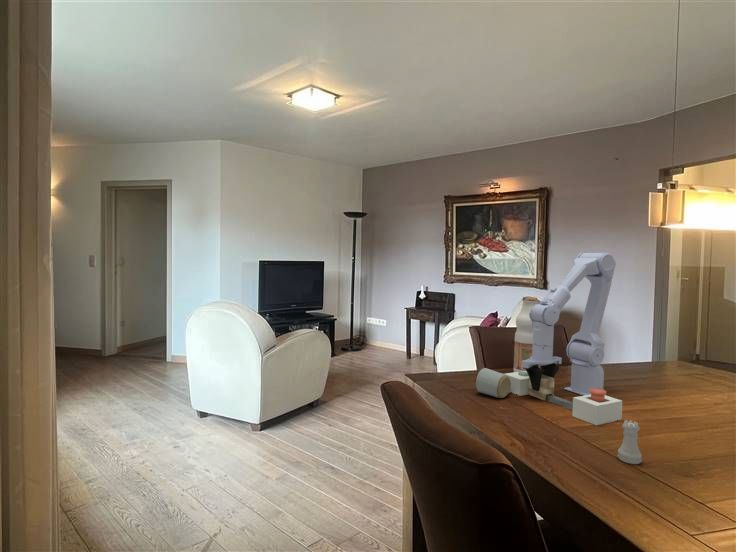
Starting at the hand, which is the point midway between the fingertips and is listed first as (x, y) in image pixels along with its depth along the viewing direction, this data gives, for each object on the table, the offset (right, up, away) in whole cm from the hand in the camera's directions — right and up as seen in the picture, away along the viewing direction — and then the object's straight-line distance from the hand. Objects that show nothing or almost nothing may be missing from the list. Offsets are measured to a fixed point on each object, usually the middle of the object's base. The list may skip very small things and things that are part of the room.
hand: (541, 389), depth 132 cm
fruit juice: (+5, -2, +26) cm, 26 cm away
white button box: (-3, -2, +6) cm, 7 cm away
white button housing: (+8, -3, -16) cm, 19 cm away
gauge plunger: (+8, 0, -17) cm, 19 cm away
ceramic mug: (-13, -2, +2) cm, 14 cm away
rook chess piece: (+2, -5, -41) cm, 41 cm away
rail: (+3, -3, -5) cm, 6 cm away
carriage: (0, -2, 0) cm, 2 cm away
